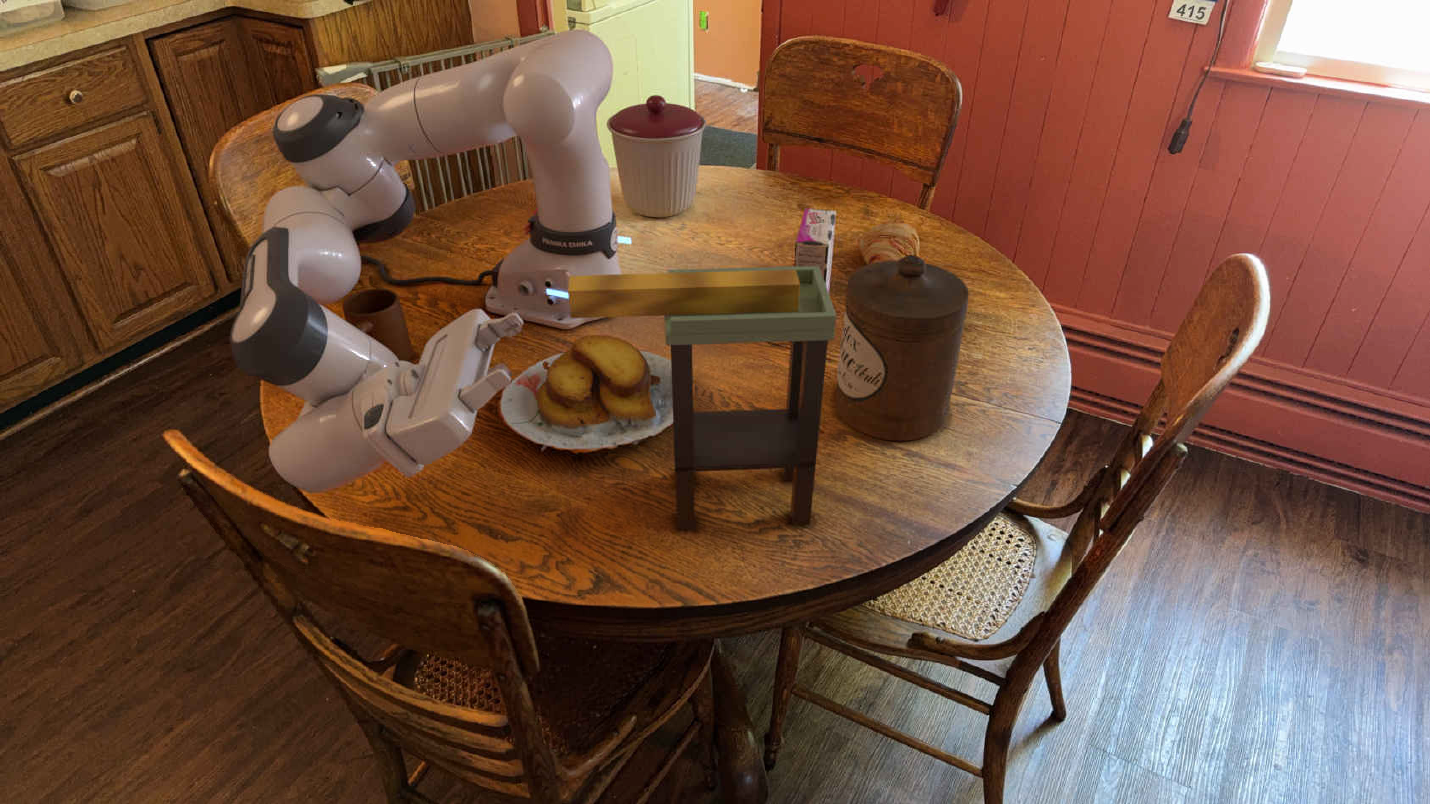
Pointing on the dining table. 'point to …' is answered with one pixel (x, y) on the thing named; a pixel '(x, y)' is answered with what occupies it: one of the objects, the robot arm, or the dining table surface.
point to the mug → (380, 319)
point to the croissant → (889, 242)
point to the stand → (753, 432)
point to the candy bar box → (816, 241)
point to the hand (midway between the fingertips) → (513, 345)
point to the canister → (657, 155)
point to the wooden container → (899, 348)
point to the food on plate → (591, 397)
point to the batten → (683, 293)
